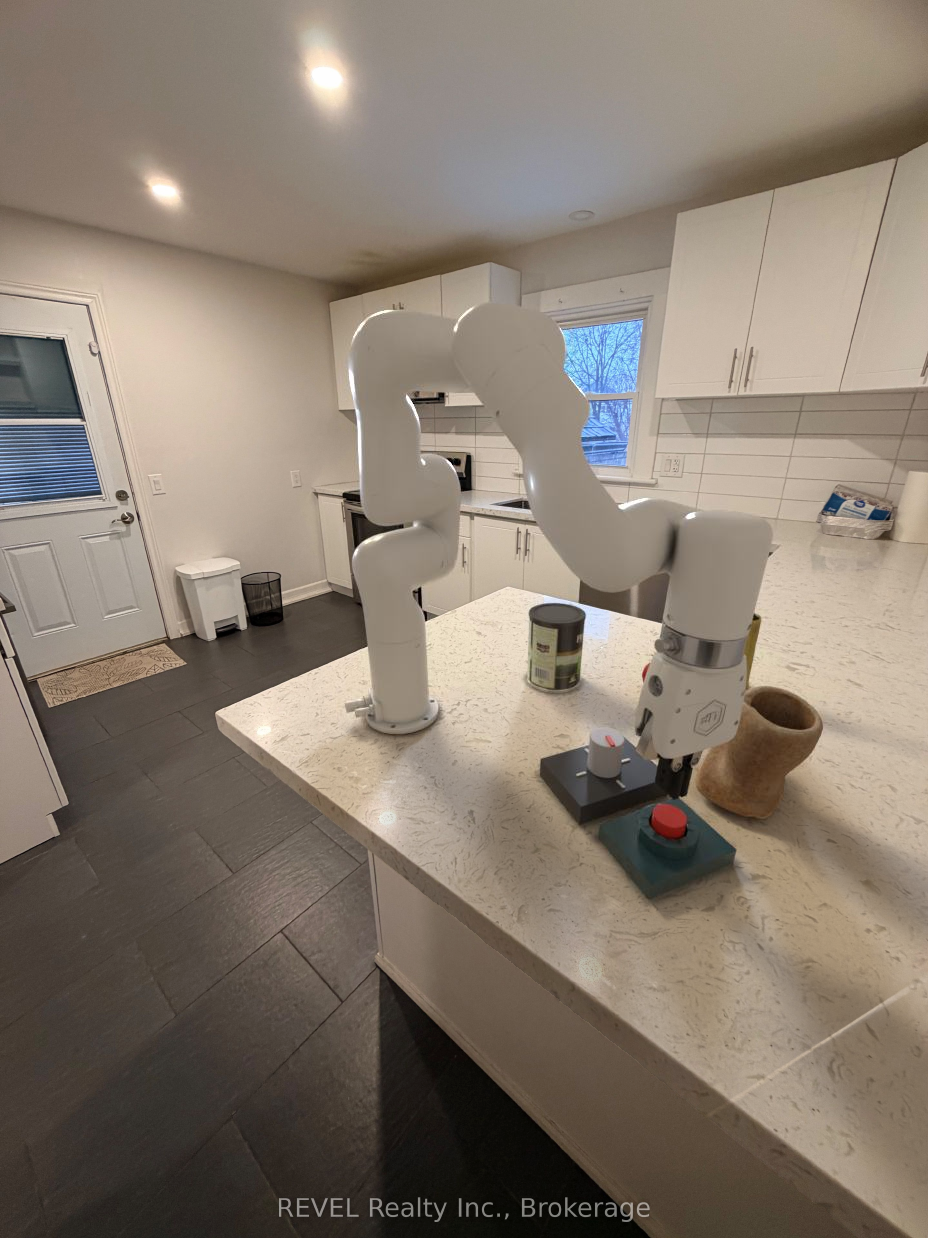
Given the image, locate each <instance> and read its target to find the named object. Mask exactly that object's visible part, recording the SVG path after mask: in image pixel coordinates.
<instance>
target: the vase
mask: <svg viewBox="0 0 928 1238" xmlns="http://www.w3.org/2000/svg"><path fill="white" fill-rule="evenodd" d="M762 619H763V618H762V616H761V615H759V613H756V612H754V615H753V619H752V623H751V627H750V632H749V636H748V640H747V644H746V648H745V652H744V654H745V656H746V660H747V678H746V688H745V691H746V690H748V689H749V687H750V686H749V683H750V676H751V671H752V667H753V663H754V658H755V653H756V647H757V642H758V638H759V633H760V630H761V624H762Z"/></svg>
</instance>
